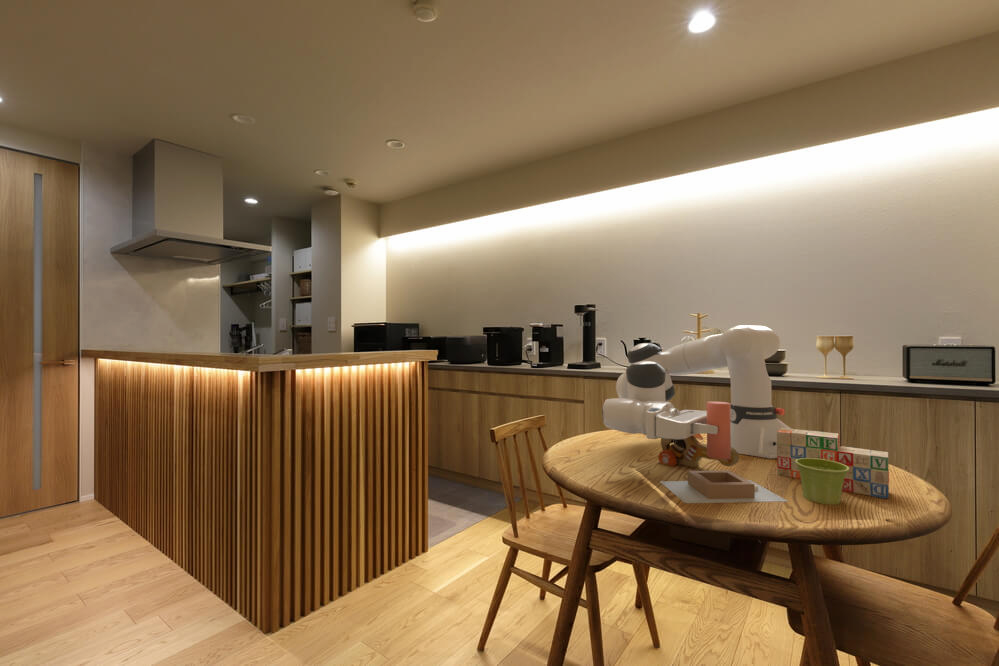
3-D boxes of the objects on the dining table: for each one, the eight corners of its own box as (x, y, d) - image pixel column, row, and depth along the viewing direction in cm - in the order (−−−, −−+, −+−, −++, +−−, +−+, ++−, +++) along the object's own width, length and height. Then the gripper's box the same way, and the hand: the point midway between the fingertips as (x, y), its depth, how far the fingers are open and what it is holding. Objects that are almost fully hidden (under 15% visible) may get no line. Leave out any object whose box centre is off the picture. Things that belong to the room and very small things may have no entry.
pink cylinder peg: (723, 453, 105) (723, 401, 105) (735, 459, 100) (734, 404, 100) (703, 453, 104) (702, 401, 104) (713, 459, 100) (713, 404, 100)
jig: (749, 484, 109) (749, 467, 109) (788, 506, 95) (788, 486, 95) (659, 486, 109) (659, 468, 109) (685, 508, 95) (685, 488, 95)
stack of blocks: (889, 492, 104) (888, 438, 104) (888, 500, 99) (888, 443, 100) (781, 473, 118) (781, 426, 118) (776, 479, 114) (776, 430, 114)
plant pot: (853, 504, 97) (852, 463, 97) (845, 517, 90) (844, 473, 90) (801, 493, 103) (801, 455, 103) (790, 504, 97) (790, 464, 97)
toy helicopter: (670, 460, 131) (670, 412, 131) (745, 478, 114) (745, 424, 114) (654, 465, 126) (653, 416, 126) (729, 485, 109) (729, 428, 109)
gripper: (679, 426, 119) (737, 434, 109) (644, 439, 104) (707, 450, 94) (679, 402, 119) (736, 408, 109) (643, 412, 104) (706, 419, 94)
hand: (722, 427), depth 101 cm, fingers closed on pink cylinder peg, 5 cm apart
